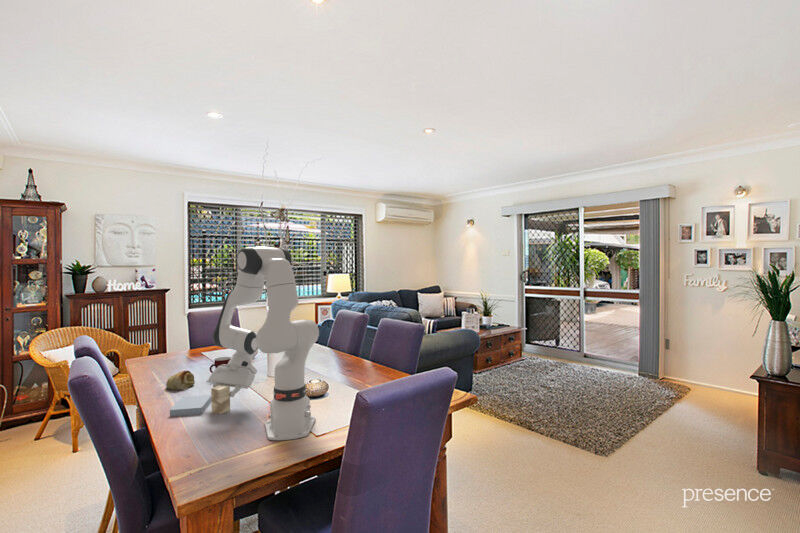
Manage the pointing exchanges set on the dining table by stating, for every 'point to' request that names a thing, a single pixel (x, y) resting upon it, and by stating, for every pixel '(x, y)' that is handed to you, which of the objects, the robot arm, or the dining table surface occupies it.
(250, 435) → the dining table surface
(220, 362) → the mug
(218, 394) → the maple block
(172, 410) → the base plate
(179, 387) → the pastry
